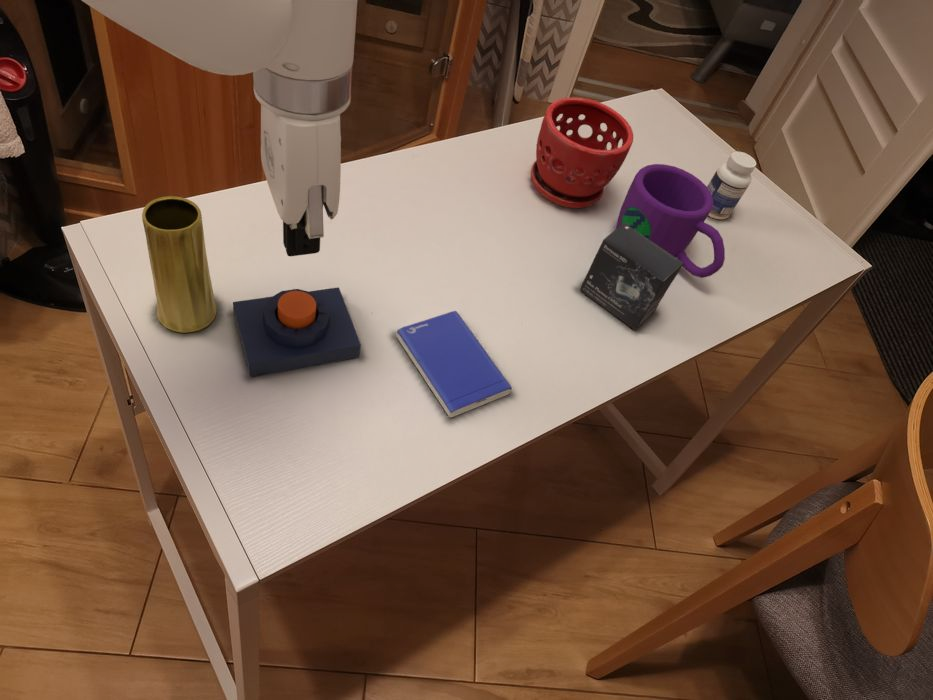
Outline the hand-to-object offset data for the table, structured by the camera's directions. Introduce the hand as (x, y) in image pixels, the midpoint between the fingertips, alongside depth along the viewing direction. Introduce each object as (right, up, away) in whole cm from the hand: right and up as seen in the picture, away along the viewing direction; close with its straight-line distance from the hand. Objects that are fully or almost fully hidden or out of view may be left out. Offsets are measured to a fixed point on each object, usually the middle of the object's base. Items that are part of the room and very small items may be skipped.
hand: (301, 248), depth 67 cm
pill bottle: (+56, +13, +43) cm, 72 cm away
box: (+36, -4, +24) cm, 44 cm away
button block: (-3, -8, +10) cm, 13 cm away
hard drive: (+14, -12, +12) cm, 22 cm away
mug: (+44, +4, +33) cm, 55 cm away
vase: (-15, -6, +9) cm, 18 cm away
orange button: (-2, -6, +7) cm, 10 cm away
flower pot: (+31, +15, +38) cm, 52 cm away
